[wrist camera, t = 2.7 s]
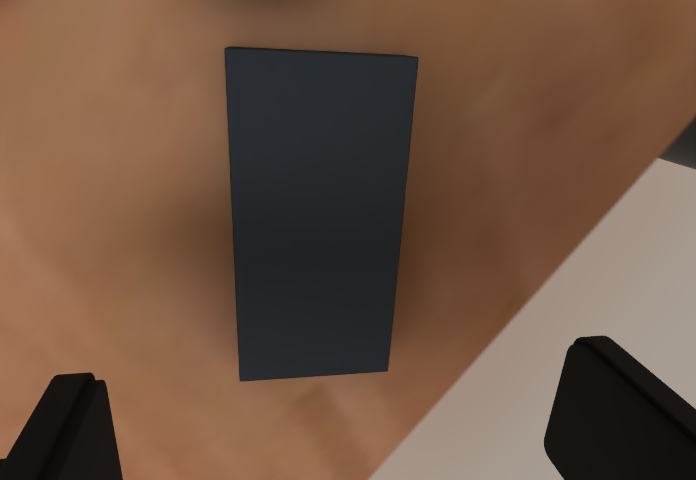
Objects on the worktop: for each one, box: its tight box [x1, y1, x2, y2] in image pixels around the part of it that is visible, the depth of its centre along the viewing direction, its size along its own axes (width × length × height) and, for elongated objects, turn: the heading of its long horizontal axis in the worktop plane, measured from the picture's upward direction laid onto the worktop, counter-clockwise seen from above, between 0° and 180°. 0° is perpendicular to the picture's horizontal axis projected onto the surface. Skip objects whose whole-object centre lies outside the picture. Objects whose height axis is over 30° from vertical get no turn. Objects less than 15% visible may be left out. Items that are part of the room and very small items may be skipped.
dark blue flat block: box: [225, 47, 418, 381], centre depth 19 cm, size 6×13×2 cm, turn 177°
